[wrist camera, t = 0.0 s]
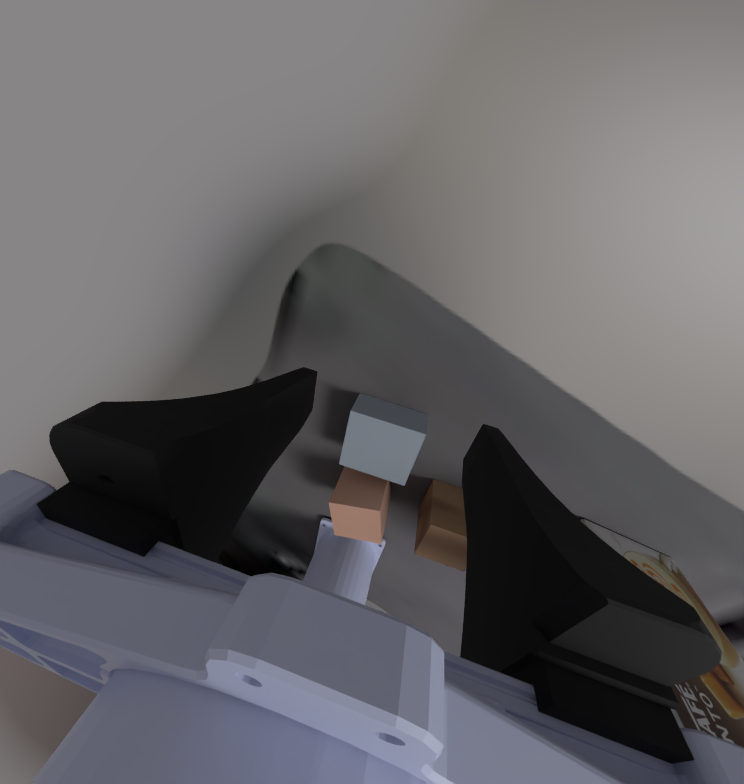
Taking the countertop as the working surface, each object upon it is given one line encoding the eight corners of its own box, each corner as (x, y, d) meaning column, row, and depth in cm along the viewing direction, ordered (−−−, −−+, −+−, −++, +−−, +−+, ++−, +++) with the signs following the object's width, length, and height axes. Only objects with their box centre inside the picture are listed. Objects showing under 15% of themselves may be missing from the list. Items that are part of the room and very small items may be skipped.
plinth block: (408, 461, 27) (404, 486, 24) (348, 442, 27) (338, 464, 25) (428, 412, 24) (426, 434, 21) (360, 391, 24) (350, 410, 22)
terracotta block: (390, 499, 30) (381, 544, 25) (349, 492, 31) (334, 534, 26) (390, 467, 27) (380, 511, 23) (346, 461, 28) (328, 502, 24)
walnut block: (461, 521, 29) (463, 571, 25) (419, 506, 29) (414, 553, 25) (479, 493, 26) (485, 543, 22) (433, 478, 27) (430, 524, 23)
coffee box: (535, 549, 28) (617, 844, 15) (582, 515, 25) (745, 857, 11) (619, 587, 28) (780, 918, 15) (678, 558, 25) (958, 954, 11)
